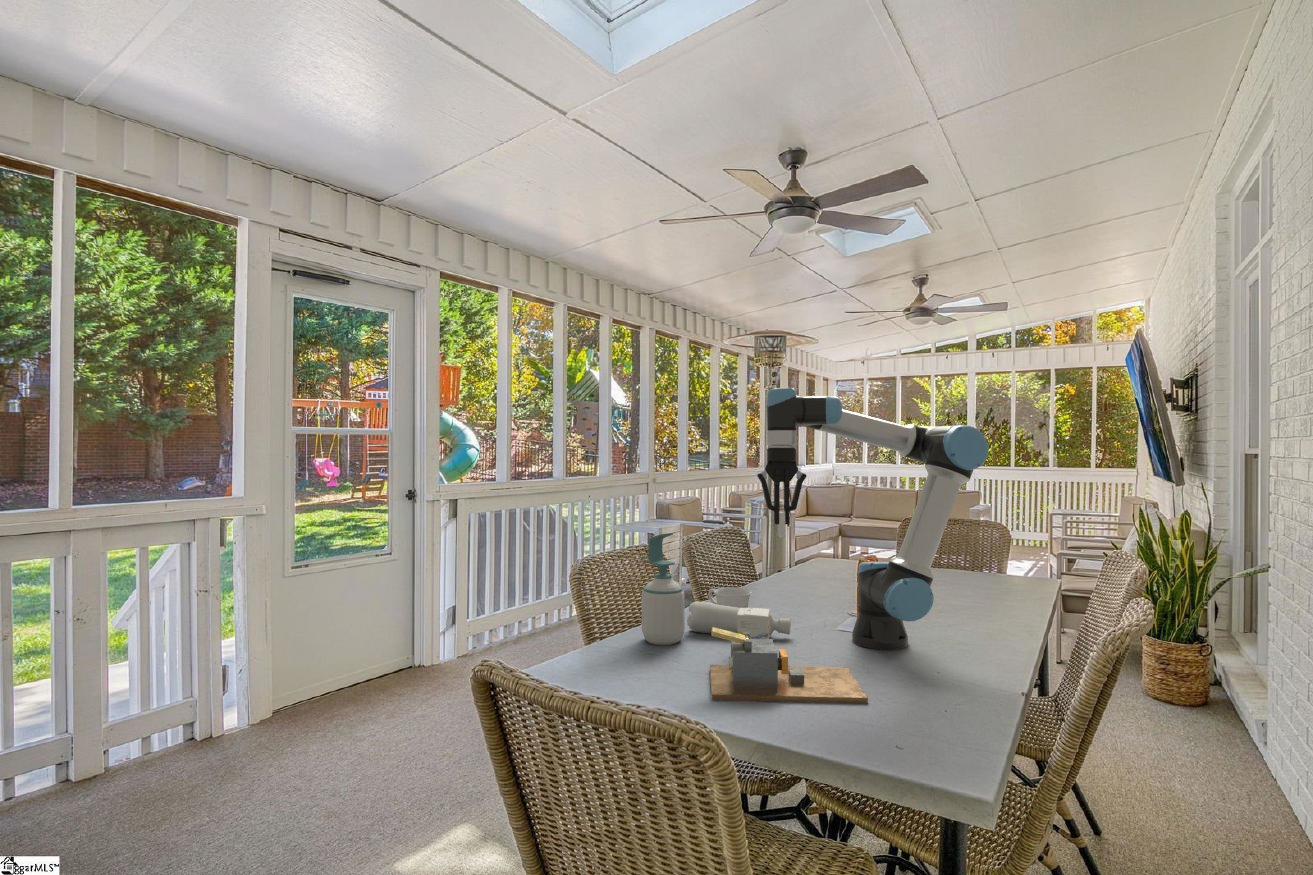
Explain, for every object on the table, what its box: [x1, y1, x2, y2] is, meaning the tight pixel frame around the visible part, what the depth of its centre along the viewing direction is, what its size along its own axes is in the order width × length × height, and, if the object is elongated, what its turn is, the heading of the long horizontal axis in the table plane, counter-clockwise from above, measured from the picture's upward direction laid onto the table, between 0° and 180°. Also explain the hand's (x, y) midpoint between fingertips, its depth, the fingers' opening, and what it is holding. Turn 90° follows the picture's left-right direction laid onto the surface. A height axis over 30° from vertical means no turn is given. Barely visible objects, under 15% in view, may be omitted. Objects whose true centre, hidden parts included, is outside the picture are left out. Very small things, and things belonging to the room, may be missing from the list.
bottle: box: [686, 600, 792, 637], centre depth 199 cm, size 9×9×30 cm
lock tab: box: [710, 627, 749, 644], centre depth 157 cm, size 9×4×1 cm, turn 86°
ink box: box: [737, 607, 770, 639], centre depth 180 cm, size 9×8×12 cm
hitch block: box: [709, 632, 869, 704], centre depth 157 cm, size 34×20×11 cm, turn 87°
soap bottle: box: [641, 532, 686, 646], centre depth 192 cm, size 12×12×31 cm
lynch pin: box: [728, 648, 789, 674], centre depth 157 cm, size 13×6×4 cm, turn 87°
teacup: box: [707, 586, 753, 608], centre depth 213 cm, size 12×15×10 cm
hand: (781, 536), depth 175 cm, fingers closed
